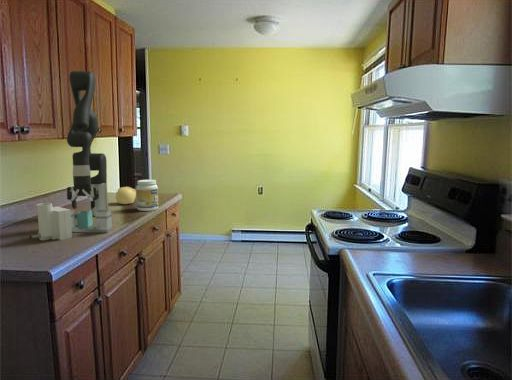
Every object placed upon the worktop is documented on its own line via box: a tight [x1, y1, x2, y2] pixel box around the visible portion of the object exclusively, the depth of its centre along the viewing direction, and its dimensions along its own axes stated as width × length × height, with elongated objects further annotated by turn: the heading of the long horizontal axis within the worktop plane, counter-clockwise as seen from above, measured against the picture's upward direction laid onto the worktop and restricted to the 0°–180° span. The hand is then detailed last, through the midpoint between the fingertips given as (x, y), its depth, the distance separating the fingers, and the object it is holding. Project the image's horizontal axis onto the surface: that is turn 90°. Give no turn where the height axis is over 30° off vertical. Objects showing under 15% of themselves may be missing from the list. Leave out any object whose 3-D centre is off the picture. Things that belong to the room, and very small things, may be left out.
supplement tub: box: [135, 179, 159, 212], centre depth 222 cm, size 12×12×17 cm
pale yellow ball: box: [115, 186, 136, 205], centre depth 240 cm, size 12×12×11 cm
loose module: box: [76, 209, 94, 227], centre depth 184 cm, size 5×5×7 cm
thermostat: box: [29, 202, 73, 241], centre depth 161 cm, size 12×14×15 cm
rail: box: [68, 208, 113, 234], centre depth 173 cm, size 5×22×10 cm, turn 89°
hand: (83, 208), depth 182 cm, fingers open, 8 cm apart
